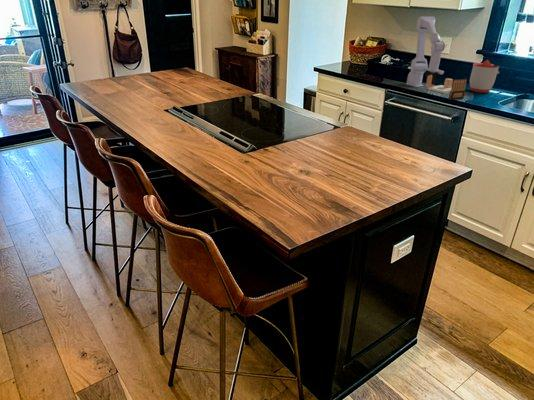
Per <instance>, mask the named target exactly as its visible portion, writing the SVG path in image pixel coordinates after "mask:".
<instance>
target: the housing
mask: <svg viewBox="0 0 534 400" xmlns="http://www.w3.org/2000/svg"><path fill="white" fill-rule="evenodd" d="M453 82H454V79H453V78H448V77H447V78H445V79H444V83H443V85H442V84H440V85H434V87H432V88H429V87H427V91H428V90H429V91H432V92H437V93H440V94H443V95H445V94H450V91H451V89H452V86H453Z"/></svg>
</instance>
